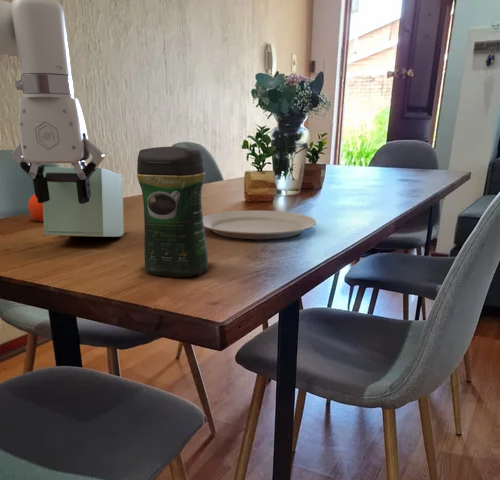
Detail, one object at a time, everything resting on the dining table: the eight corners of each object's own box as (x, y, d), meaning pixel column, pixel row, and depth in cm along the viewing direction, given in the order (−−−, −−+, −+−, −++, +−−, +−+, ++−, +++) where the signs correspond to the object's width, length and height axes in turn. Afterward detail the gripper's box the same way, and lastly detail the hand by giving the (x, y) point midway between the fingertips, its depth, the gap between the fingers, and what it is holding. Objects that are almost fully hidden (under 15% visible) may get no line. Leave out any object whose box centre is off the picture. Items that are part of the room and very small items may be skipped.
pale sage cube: (96, 236, 89) (94, 165, 87) (35, 234, 90) (31, 164, 88) (123, 236, 103) (122, 175, 101) (70, 235, 104) (68, 174, 102)
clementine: (71, 219, 120) (67, 188, 117) (62, 225, 114) (58, 192, 111) (36, 219, 120) (31, 188, 117) (26, 225, 113) (20, 192, 110)
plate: (327, 242, 100) (327, 232, 99) (196, 243, 98) (196, 233, 97) (305, 218, 123) (305, 210, 123) (199, 219, 122) (199, 210, 121)
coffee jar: (214, 267, 83) (211, 146, 75) (195, 281, 76) (190, 148, 68) (160, 262, 85) (152, 144, 78) (137, 275, 78) (126, 147, 71)
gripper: (-17, 87, 79) (5, 204, 86) (92, 87, 77) (104, 206, 84) (9, 89, 86) (27, 198, 93) (109, 89, 84) (119, 199, 91)
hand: (64, 201), depth 89 cm, fingers closed on pale sage cube, 6 cm apart
